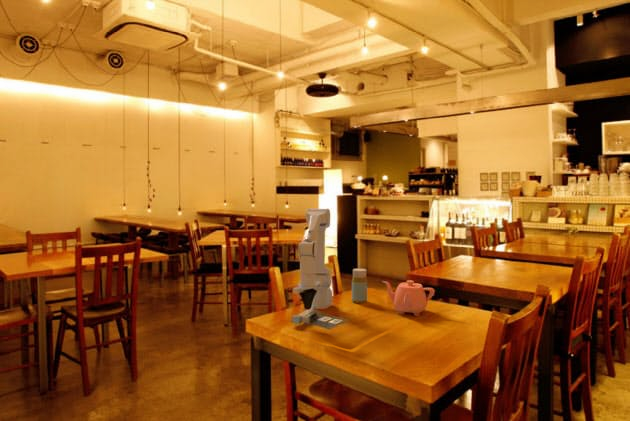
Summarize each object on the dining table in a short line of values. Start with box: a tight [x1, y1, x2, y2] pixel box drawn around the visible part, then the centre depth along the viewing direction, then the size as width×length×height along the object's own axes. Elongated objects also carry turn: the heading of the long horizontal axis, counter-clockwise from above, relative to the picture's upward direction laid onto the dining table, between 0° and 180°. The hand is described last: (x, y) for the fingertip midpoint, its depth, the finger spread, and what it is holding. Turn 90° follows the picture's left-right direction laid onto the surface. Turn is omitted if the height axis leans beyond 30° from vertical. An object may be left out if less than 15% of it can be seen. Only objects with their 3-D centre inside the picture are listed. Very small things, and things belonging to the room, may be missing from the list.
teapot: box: [381, 279, 436, 317], centre depth 184 cm, size 16×17×14 cm
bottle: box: [351, 267, 368, 304], centre depth 200 cm, size 7×7×15 cm
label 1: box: [318, 317, 332, 322], centre depth 171 cm, size 5×4×1 cm
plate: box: [302, 312, 350, 330], centre depth 170 cm, size 14×16×1 cm
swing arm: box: [291, 307, 318, 325], centre depth 169 cm, size 16×3×3 cm, turn 153°
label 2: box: [328, 319, 343, 325], centre depth 168 cm, size 5×4×1 cm
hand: (307, 309), depth 164 cm, fingers closed
